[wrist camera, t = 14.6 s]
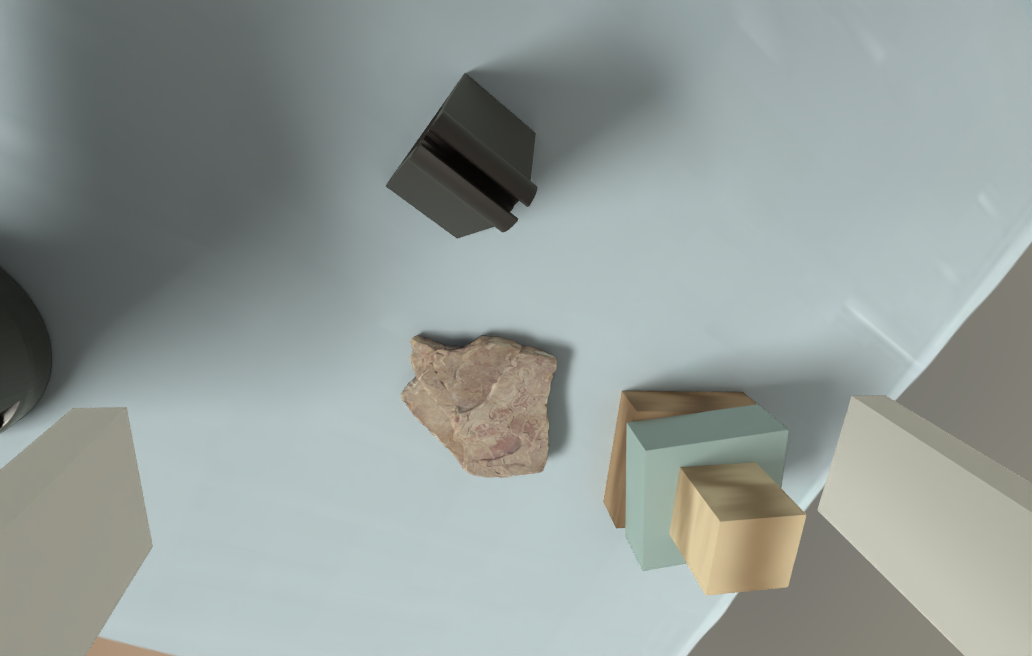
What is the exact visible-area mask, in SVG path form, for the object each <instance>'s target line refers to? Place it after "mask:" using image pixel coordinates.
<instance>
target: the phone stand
mask: <svg viewBox="0 0 1032 656" xmlns="http://www.w3.org/2000/svg"><path fill="white" fill-rule="evenodd" d="M535 134H536V133H535V132H534V131H532V130H531V129H530V128H529V127H528V126H527V125H525V124H524V123H523V122H522V121H521V120H520V119H518V118H517V117H516V116H515V115H514V114H513V113H511V112H510V111H509V110H508V109H507V108H506V107H504V106H503V105H502V104H501V103H500V102H499V101H497V100H496V99H495V98H494V97H493V96H492V95H490V94H489V93H488V92H487V91H486V90H485V89H483V88H482V87H481V86H480V85H479V84H478V83H476V82H475V81H474V80H473V79H472V78H471V77H469V76H468V75H467V74H466V73H465V74H464V75H463V76H462V78H461V79H460V81H459V82H458V83H457V85H456V86H455V88H454V89H453V91H452V92H451V93H450V95H449V96H448V98H447V99H446V101H445V102H444V103H443V105H442V106H441V108H440V109H439V111H438V112H437V113H436V115H435V116H434V118H433V119H432V120H431V122H430V123H429V125H428V126H427V128H426V129H425V131H424V132H423V133H422V135H421V136H420V138H419V139H418V140H417V142H416V143H415V145H414V146H413V148H412V149H411V150H410V152H409V153H408V155H407V156H406V157H405V159H404V160H403V162H402V163H401V165H400V166H399V167H398V169H397V170H396V172H395V173H394V175H393V176H392V177H391V179H390V180H389V182H388V183H387V185H386V187H387V188H389V189H390V190H392V191H393V192H394V193H396V194H397V195H398V196H400V197H401V198H403V199H404V200H405V201H407V202H408V203H409V204H411V205H412V206H413V207H415V208H416V209H418V210H419V211H420V212H422V213H423V214H424V215H426V216H427V217H428V218H430V219H431V220H433V221H434V222H435V223H437V224H438V225H439V226H441V227H442V228H444V229H445V230H446V231H448V232H449V233H450V234H452V235H453V236H454V237H456V238H460V237H463V236H466V235H469V234H472V233H476V232H479V231H482V230H485V229H488V228H491V227H494V226H495V227H496V228H497V229H499V230H500V231H501V232H506V231H507V230H509V229H510V228H511V227H512V226H513V225H514V224H515V223H516V222H517V221H518V218H517V217H515V216H514V215H513V214H512V213H510V211H511V210H512V209H513V207H514V205H515V204H516V203H517V202H518V201H520V202H522V203H523V204H524V205H525V206H527V207H528V206H529V205H530V204H531V202H532V200H533V199H534V197H535V194H536V192H537V186H536V185H534V184H533V183H532V182H531V181H530V179H531V170H532V161H533V152H534V143H535Z"/></svg>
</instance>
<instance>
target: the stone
mask: <svg viewBox="0 0 1032 656" xmlns="http://www.w3.org/2000/svg"><path fill="white" fill-rule="evenodd" d="M410 343H411V346H412V348H413V351H412V354H411V355H410V360H411V363H412V366H413V369H414V371H415V377H414V379H413V380H412V381H411V382H409V383H408V384H407V386H406V387H405V388H404V390H403V392H402V393H401V398H402V400H403V401H404V402H405V403H407V404H406V405H407V407H408V408H409V409H410V411H411V412H412V413H413V415H414V416H415V417H416V418H417V419H418V420H419V422H420V423H422V424H423V425H424V426H426V427H427V428H428V430H429V431H430V432H431V433H432V434H433V435H434V436H436V437H437V438H438V440H439V441H440V442H442V443H443V444H444V446H445V447H446V448H448V449H449V451H450V452H451V453H452V454H453V455H454V456H455V458H456V459H457V460H458V461H459V463H460V464H461V465H462V468H463V469H465V470H466V471H467V472H468V473H470V474H472V475H475V476H483V477H510V476H512V475H516V476H517V475H525V474H535V473H539V472H542V471H543V469H544V466H545V464H546V462H547V457H548V448H549V444H548V441H549V440H548V430H549V422H548V417H547V399H548V396H549V392H550V384H551V381H552V379H553V374H554V373H555V371H556V370H557V358H555V357H554V356H552V355H551V354H548V353H546V352H544V351H542V350H540V349H537V348H534V347H528V346H524V347H523V346H522V345H520V344H517V343H516V342H515V341H512V340H509V339H503V338H501V337H487V336H480V337H479V338H477V339H476V340H475V341H473V342H472V343H470V344H468V345H466V346H465V347H463V348H461V347H458V346H446V345H442V344H439V343H436V342H434V341H433V340H430V339H428V338H423V337H421V336H419V335H417V336H415V337H413V338H412V340H411V341H410Z"/></svg>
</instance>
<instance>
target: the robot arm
mask: <svg viewBox="0 0 1032 656" xmlns="http://www.w3.org/2000/svg"><path fill="white" fill-rule="evenodd" d="M50 371H51V346H50V341H49V337H48V334H47V330H46V328H45V325H44V323H43V320H42V318H41V316H40V314H39V313H38V311H37V309H36V307H35V306H34V304H33V303H32V301H31V300H30V298H29V297H28V296H27V294H26V293H25V292H24V291H23V290H22V288H21V287H20V286H19V285H18V284H17V283H16V282H15V281H14V280H13V279H12V278H11V277H10V276H9V275H8V274H7V273H6V272H4V271H3V270H2V269H1V268H0V434H1V433H2V432H4V431H5V430H6V429H8V428H9V427H10V426H12V425H13V424H14V423H16V422H17V421H18V420H20V419H21V418H22V417H24V416H25V415H26V414H27V413H28V412H29V411H30V410H31V409H32V408H33V407H34V406H35V405H36V403H37V402H38V401H39V399H40V398H41V396H42V394H43V392H44V391H45V388H46V386H47V383H48V380H49V377H50ZM818 511H819V512H820V513H821V514H822V515H823V516H824V517H825V518H826V519H827V520H828V521H829V522H830V523H831V524H832V525H833V526H834V527H835V528H836V529H837V530H838V531H839V532H840V533H841V534H842V535H843V536H844V537H845V538H846V539H847V540H848V541H849V542H850V543H851V544H852V545H853V546H854V547H855V548H856V549H858V551H859V552H860V553H861V554H862V555H863V556H864V557H865V558H866V559H867V560H868V561H869V562H870V563H871V564H872V565H873V566H874V567H876V569H878V571H879V572H881V574H883V576H885V577H886V578H887V579H888V580H889V581H890V582H891V583H892V584H893V585H894V586H895V587H896V588H897V589H898V590H899V591H900V592H901V593H902V594H903V595H904V596H905V597H906V598H907V599H908V600H909V601H910V602H911V603H912V604H913V605H914V606H915V607H916V608H917V609H918V610H919V611H920V612H921V613H922V614H923V615H924V616H925V617H926V618H927V619H928V620H929V621H930V622H931V623H932V624H933V625H934V626H935V627H936V628H937V629H938V630H939V631H940V632H941V633H942V634H943V635H944V636H945V637H946V638H947V639H948V640H949V641H950V642H951V643H952V644H953V645H954V646H955V647H956V648H957V649H958V650H959V651H960V652H961V653H962V654H963V655H964V656H1032V483H1030V482H1029V481H1027V480H1025V479H1024V478H1022V477H1020V476H1018V475H1017V474H1015V473H1014V472H1012V471H1010V470H1009V469H1007V468H1005V467H1004V466H1002V465H1000V464H999V463H997V462H995V461H993V460H992V459H990V458H988V457H987V456H985V455H984V454H982V453H980V452H979V451H977V450H975V449H973V448H972V447H970V446H968V445H967V444H965V443H964V442H962V441H960V440H959V439H957V438H955V437H954V436H952V435H950V434H948V433H947V432H945V431H943V430H942V429H940V428H938V427H937V426H935V425H934V424H932V423H930V422H928V421H927V420H925V419H924V418H922V417H920V416H919V415H917V414H915V413H914V412H912V411H910V410H909V409H907V408H905V407H903V406H902V405H900V404H898V403H897V402H895V401H894V400H892V399H890V398H889V397H887V396H885V395H879V396H851V400H850V403H849V406H848V410H847V413H846V416H845V420H844V423H843V427H842V430H841V433H840V437H839V440H838V443H837V447H836V450H835V453H834V457H833V460H832V463H831V467H830V470H829V474H828V477H827V480H826V484H825V487H824V491H823V494H822V497H821V501H820V504H819V507H818ZM152 547H153V546H152V540H151V535H150V530H149V524H148V519H147V514H146V508H145V503H144V498H143V492H142V487H141V482H140V476H139V471H138V466H137V460H136V455H135V450H134V444H133V439H132V434H131V428H130V423H129V418H128V412H127V407H114V408H72V409H71V410H70V411H69V412H68V413H67V414H65V415H64V416H63V417H62V418H61V419H60V420H58V421H57V422H56V423H55V424H54V425H52V426H51V427H50V428H49V429H48V430H47V431H45V432H44V433H43V434H42V435H41V436H40V437H38V438H37V439H36V440H35V441H34V442H32V443H31V444H30V445H29V446H28V447H27V448H25V449H24V450H23V451H22V452H21V453H19V454H18V455H17V456H16V457H15V458H14V459H12V460H11V461H10V462H9V463H8V464H7V465H5V466H4V467H3V468H2V469H1V470H0V656H86V654H87V653H88V651H89V649H90V648H91V646H92V645H93V643H94V641H95V640H96V638H97V636H98V635H99V633H100V632H101V630H102V628H103V627H104V625H105V623H106V622H107V620H108V618H109V617H110V615H111V614H112V612H113V610H114V609H115V607H116V605H117V604H118V602H119V601H120V599H121V597H122V596H123V594H124V592H125V591H126V589H127V588H128V586H129V584H130V583H131V581H132V579H133V578H134V576H135V575H136V573H137V571H138V570H139V568H140V566H141V565H142V563H143V562H144V560H145V558H146V557H147V555H148V553H149V552H150V550H151V548H152Z"/></svg>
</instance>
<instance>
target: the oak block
mask: <svg viewBox="0 0 1032 656" xmlns="http://www.w3.org/2000/svg"><path fill="white" fill-rule="evenodd" d="M805 518H806V514H805V513H804V512H803V511H802V510H801V509H800V507H799V506H798V505H797V504H796V503H795V502H794V501H793V500H792V499H791V498H790V497H789V496H788V495H787V494H786V493H785V492H784V491H783V490H782V489H781V488H780V487H779V486H778V485H777V484H776V483H775V482H774V481H773V480H772V479H771V478H770V476H769V475H768V474H767V473H766V472H765V471H764V470H763V469H762V468H761V467H760V466H759V465H758V464H757V463H756V462H752V463H737V464H721V465H706V466H690V467H680V470H679V476H678V483H677V489H676V495H675V502H674V508H673V514H672V521H671V527H670V533H669V534H670V536H671V538H672V539H673V541H674V543H675V544H676V546H677V548H678V549H679V551H680V553H681V554H682V556H683V558H684V560H685V561H686V563H687V565H688V566H689V568H690V570H691V571H692V573H693V575H694V576H695V578H696V580H697V581H698V583H699V585H700V586H701V588H702V590H703V591H704V593H705V595H715V594H725V593H735V592H745V591H754V590H764V589H774V588H783V587H788V585H789V581H790V577H791V573H792V569H793V565H794V561H795V557H796V554H797V550H798V545H799V542H800V538H801V534H802V530H803V526H804V522H805Z"/></svg>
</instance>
